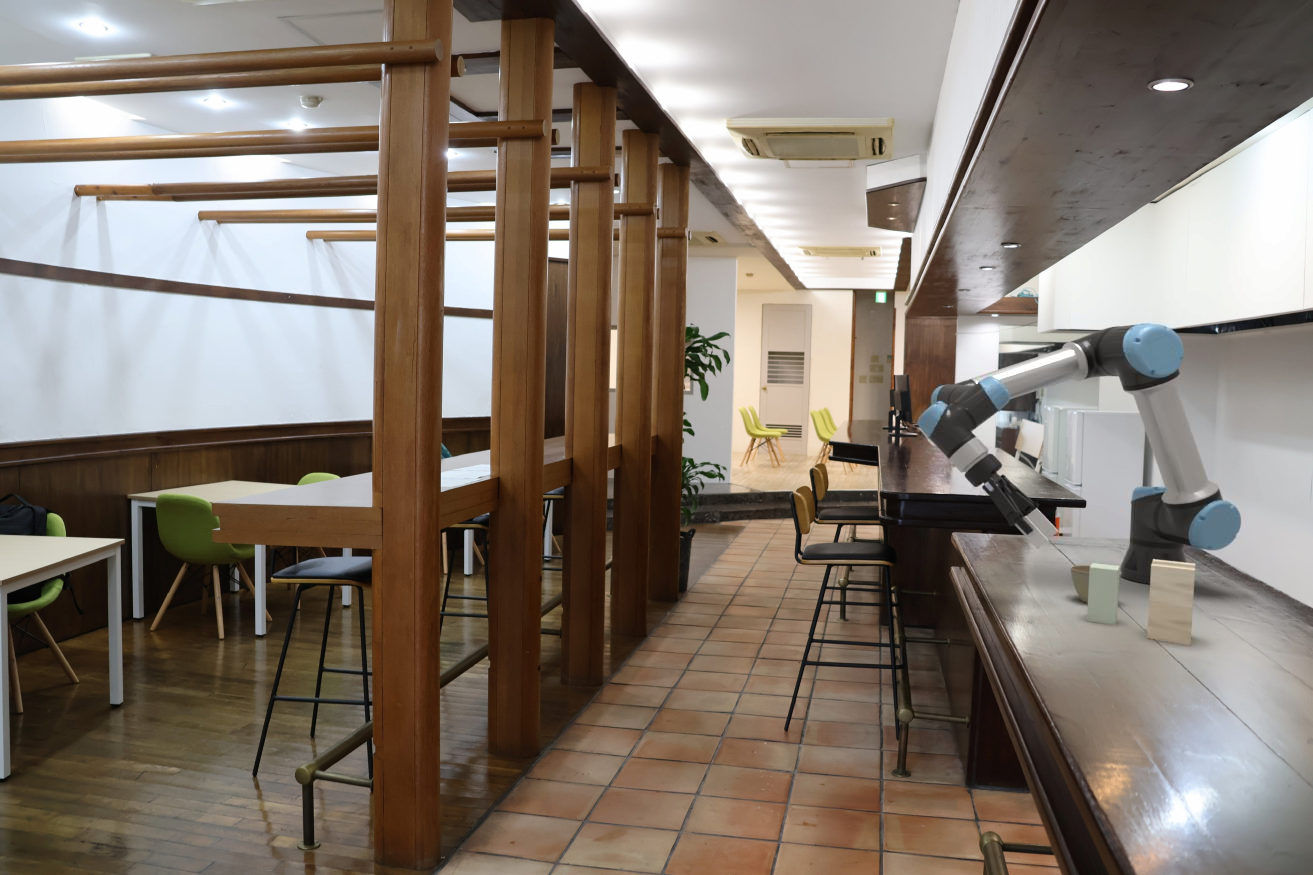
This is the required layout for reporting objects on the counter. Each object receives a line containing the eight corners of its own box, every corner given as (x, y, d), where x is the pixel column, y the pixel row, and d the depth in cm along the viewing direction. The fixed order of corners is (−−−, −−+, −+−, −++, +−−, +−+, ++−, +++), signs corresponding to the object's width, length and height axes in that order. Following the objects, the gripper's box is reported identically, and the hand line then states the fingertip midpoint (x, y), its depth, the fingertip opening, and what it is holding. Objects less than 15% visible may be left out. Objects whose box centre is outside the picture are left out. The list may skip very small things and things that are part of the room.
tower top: (1151, 594, 172) (1153, 559, 171) (1193, 599, 168) (1195, 563, 168) (1149, 602, 166) (1151, 565, 165) (1192, 607, 162) (1194, 570, 162)
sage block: (1089, 615, 182) (1092, 562, 182) (1116, 619, 180) (1119, 565, 179) (1086, 620, 178) (1089, 567, 177) (1114, 624, 175) (1117, 570, 175)
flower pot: (1126, 608, 188) (1127, 575, 188) (1075, 605, 190) (1077, 572, 190) (1111, 597, 198) (1113, 566, 197) (1064, 594, 200) (1065, 563, 199)
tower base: (1149, 630, 172) (1151, 594, 172) (1191, 636, 169) (1193, 599, 168) (1147, 638, 166) (1149, 602, 166) (1190, 645, 163) (1192, 607, 162)
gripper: (976, 470, 203) (1043, 542, 196) (949, 479, 181) (1023, 561, 175) (1001, 448, 199) (1071, 520, 192) (977, 455, 178) (1054, 537, 171)
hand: (1048, 540), depth 183 cm, fingers open, 13 cm apart
